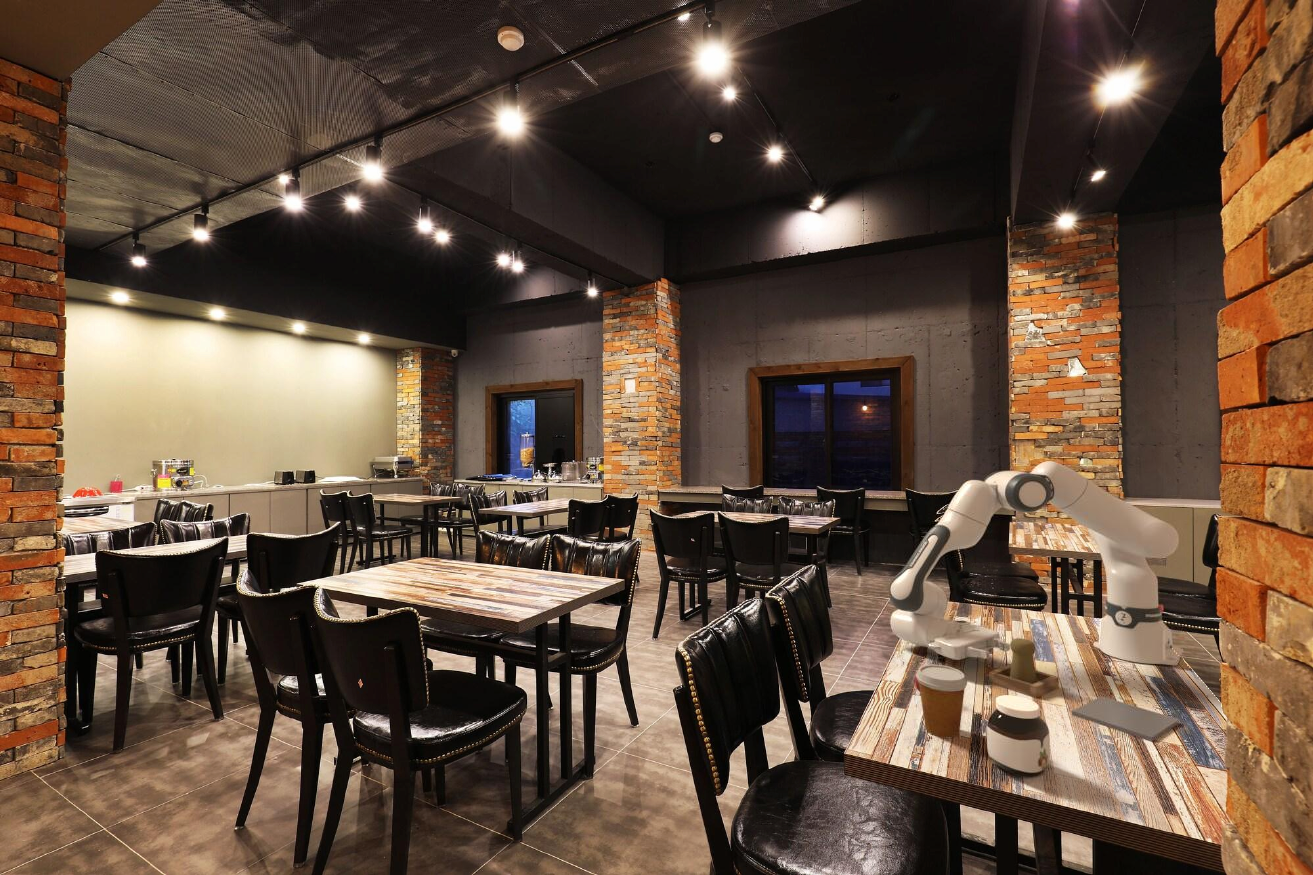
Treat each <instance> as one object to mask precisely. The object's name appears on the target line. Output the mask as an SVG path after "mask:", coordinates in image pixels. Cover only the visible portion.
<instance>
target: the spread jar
mask: <svg viewBox="0 0 1313 875" xmlns="http://www.w3.org/2000/svg"><path fill="white" fill-rule="evenodd" d="M985 736H986V744H987V745H986V747H987V748H986V749H987V753H988V757H989V759H991V761H992V762H993V763H994V764H995V765H997V766H998V767H999V768H1000V769H1002V770H1004V771H1005V772H1006V773H1009V774H1011V775H1015V776H1017V777H1022V778H1023V777H1024V778H1035V777H1036V778H1037V777H1038V776H1040V775H1042V774H1043V773H1044V772H1045V770H1046V769H1047V768H1048V765H1049V763H1050V757H1051V741H1050V739H1051V738H1050V729H1049V726H1048V724H1047V722H1046V721H1045V720H1044V719H1043V718H1042V717H1041V716H1040V706H1039V704H1038V703H1036V702H1035V701H1033V700H1031V699H1029V698H1025V697H1022V696H1018V695H1009V694H1007V695H1006V694H1004V695H999V696H997V697H996V698H995V709H994V711H993V712H992V713H991V714H990V716H989V717H988V720H987V725H986V727H985Z"/></svg>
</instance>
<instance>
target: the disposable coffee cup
mask: <svg viewBox="0 0 1313 875" xmlns="http://www.w3.org/2000/svg"><path fill="white" fill-rule="evenodd" d="M917 672H918V673H917ZM917 672H916V673H917V674H916V673H915V676H916V678H917V680H918V682H919V687H920V692H919V694H920V700H921V706H922V712H923V719H924V720H923V721H924V725H925V726H924V727H925V728H924V729H925V730H926V731H927V732H928V733H929V734H931V735H933V736H936V737H939V738H944V739H953V738H958V737H959V736H960V731H961V730H960V729H961V723H962V721H961V720H962V714H963V705H964V695H965V689H966V687H967V685H968V680H967V679H966V677H965V676H966V675H965V674H964V673H963V672H962V671H961V670H959V669H957V668H954V667H952V666H947V665H942V664H931V665H927V664H925V665H921V666H919V668H918V670H917Z"/></svg>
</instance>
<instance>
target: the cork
mask: <svg viewBox="0 0 1313 875" xmlns="http://www.w3.org/2000/svg"><path fill="white" fill-rule="evenodd" d="M1009 645H1010V650H1011V651H1012V657H1011V658H1012V659H1011V663H1010V664H1011V672H1010V677H1011V678H1014V679H1018V680H1021V681H1024V682H1027V683H1030V684H1034V683H1037V677H1036V672H1035V670H1036V665H1035V660H1034V654H1035V651H1036V645H1035V643H1034V642H1033V641H1032V640H1030V639H1027V638H1018V637H1016V638H1013V639H1011V641H1010V643H1009Z"/></svg>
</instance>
